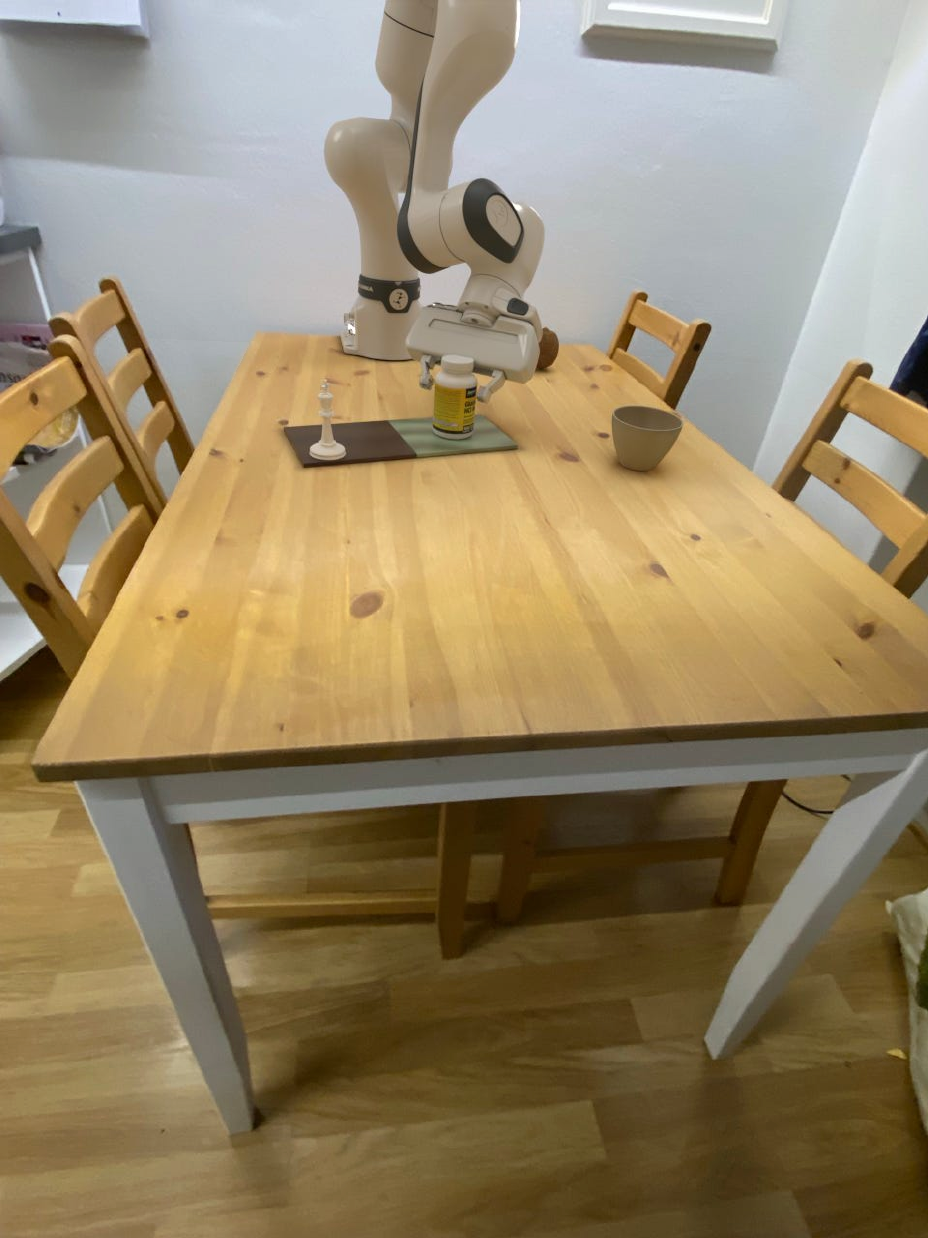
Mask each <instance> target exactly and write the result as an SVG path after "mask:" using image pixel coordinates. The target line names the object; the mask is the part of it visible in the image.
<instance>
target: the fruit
mask: <svg viewBox="0 0 928 1238" xmlns="http://www.w3.org/2000/svg"><path fill="white" fill-rule="evenodd" d="M542 331H543V336H542V339H541V341H540V342H539V343H538V344H539V348H540V354H539V359H538V363H537V366H536V369H538V370H545V369H547V368H549V367H551V366H552V365H553V364H554V362H555V361H556V359H557V357H558V355H559V350H560V343H559V342H560V341H559V338H558V335H557V334H556V332H555V331H553V330H550V329H549V328H548V327H547V326H544V327H542Z"/></svg>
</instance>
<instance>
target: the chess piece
mask: <svg viewBox="0 0 928 1238" xmlns="http://www.w3.org/2000/svg"><path fill="white" fill-rule="evenodd" d="M329 388H331V384H330V383H329V382H328V379H322V385H320V391H322V392H320V393H318V395H317V397H318V401H319V404H320V407H321V410H319V411H318V413H317V415H318V416H319V417H322V424H321V425H322V436H321V440H320V441H319V443H316V444H314V445H312V446H311V447H310V455H311V456H312V457H314V458H316V459H320V460H337V459H340V458H343V457H344V456H345V455H346V452H345V447H344V446H343V445H341V444H339V443H336V441H335V440H334V439H333V434H332V428H331V424H332V421H331V417H334V416H335V411H334V410H331V407H332V403H333V400H334V394H332V393H330V392H329V390H328V389H329Z"/></svg>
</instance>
